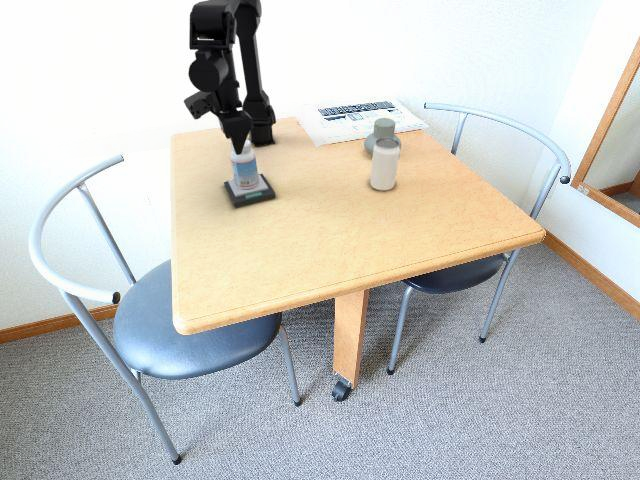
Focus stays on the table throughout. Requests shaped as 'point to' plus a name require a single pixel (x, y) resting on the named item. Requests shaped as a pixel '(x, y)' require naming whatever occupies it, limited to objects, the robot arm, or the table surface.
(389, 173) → the can
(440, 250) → the table surface
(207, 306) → the table surface
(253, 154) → the pill bottle
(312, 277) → the table surface
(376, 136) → the air freshener
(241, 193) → the scale
